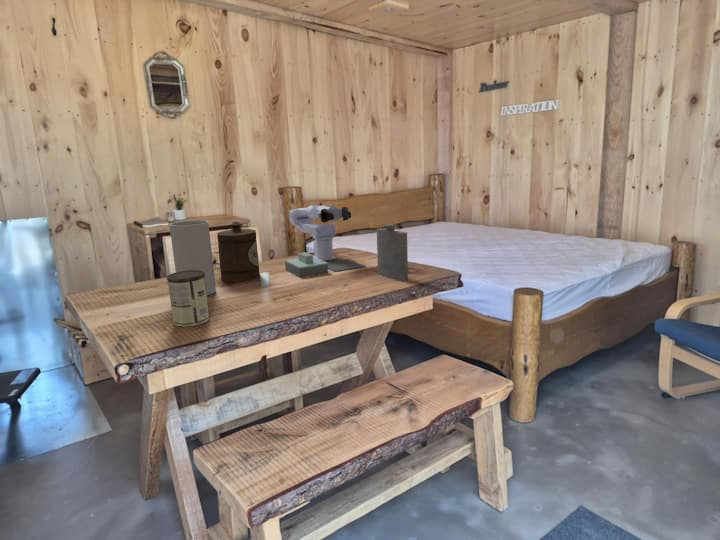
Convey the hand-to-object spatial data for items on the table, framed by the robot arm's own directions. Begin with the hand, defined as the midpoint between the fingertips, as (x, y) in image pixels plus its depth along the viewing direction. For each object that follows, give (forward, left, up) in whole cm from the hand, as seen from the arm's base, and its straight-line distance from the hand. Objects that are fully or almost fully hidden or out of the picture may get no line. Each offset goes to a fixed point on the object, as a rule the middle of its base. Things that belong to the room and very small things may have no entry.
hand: (341, 215), depth 196 cm
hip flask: (+26, +7, -22) cm, 34 cm away
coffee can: (+34, -67, -22) cm, 78 cm away
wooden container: (-9, -41, -22) cm, 47 cm away
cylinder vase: (+5, -60, -21) cm, 64 cm away
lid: (-2, -16, -18) cm, 24 cm away
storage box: (-2, -16, -21) cm, 27 cm away
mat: (-2, 0, -21) cm, 21 cm away
